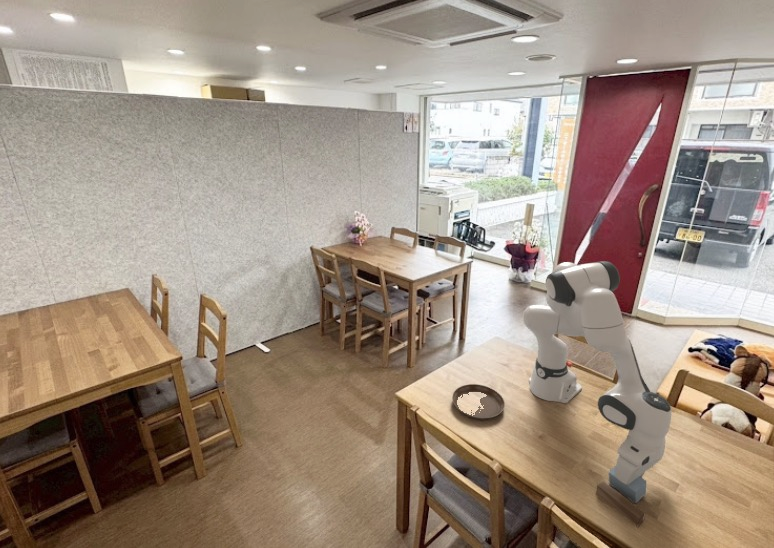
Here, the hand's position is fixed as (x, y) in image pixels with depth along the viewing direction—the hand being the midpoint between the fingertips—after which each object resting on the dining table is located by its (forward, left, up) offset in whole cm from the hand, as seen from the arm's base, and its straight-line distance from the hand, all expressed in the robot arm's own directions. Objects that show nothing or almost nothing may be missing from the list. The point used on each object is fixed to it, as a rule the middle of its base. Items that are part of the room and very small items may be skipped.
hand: (635, 480), depth 116 cm
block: (+4, 0, -1) cm, 4 cm away
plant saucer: (+15, -53, -3) cm, 56 cm away
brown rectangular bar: (+11, +2, -2) cm, 12 cm away
